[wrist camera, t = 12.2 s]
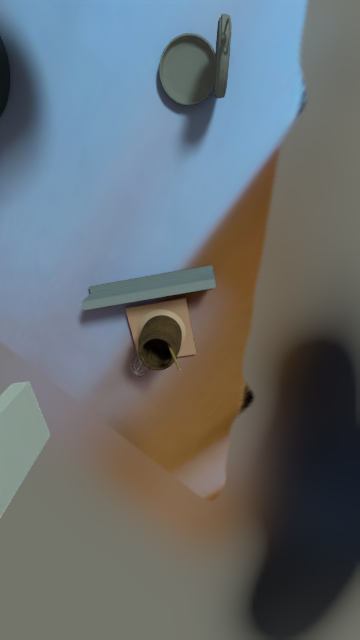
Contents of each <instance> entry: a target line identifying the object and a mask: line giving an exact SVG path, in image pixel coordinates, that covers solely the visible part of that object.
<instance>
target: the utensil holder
mask: <svg viewBox="0 0 360 640" xmlns="http://www.w3.org/2000/svg"><path fill="white" fill-rule="evenodd" d="M181 341H182V331H181V328H180V326H179V324H178V323H177V321H176V320H174V319H173V318H171V317H169V316H165V315H158V316H154V317H152V318H151V319H149V320H148V321H147V322H146V323H145V325H144V327H143V329H142V331H141V334H140V336H139V340H138V355H137V356H139V359H140V361H141V363H143V364H144V365H145V366H146V368H147V367H148V368H150V369H153V370H163V369H166V368H168V367H170V366H171V365H172V364H173V363H174V361H175V363H176V365H177V367H178V369H179V371H181V370H180V367H179V365H178V362H177V359H176V357H177V355H178V353H179V351H180V348H181ZM137 356H136V357H137ZM137 358H138V357H137ZM137 358H136V359H137ZM134 359H135V358H134ZM134 359H133V360H134ZM135 361H136V360H135ZM132 362H133V361H132ZM140 365H141V364H140ZM130 366H131V365H130ZM141 366H142V365H141ZM139 367H140V366H139ZM132 368H133V367H132ZM132 368H131V370H132ZM134 368H135V364H134ZM140 368H141V367H140ZM138 369H139V368H138ZM146 370H147V369H146ZM137 371H139V370H137ZM142 371H143V370H142ZM148 371H149V370H148ZM140 372H141V371H140ZM145 372H146V371H145ZM131 373H132V372H131ZM135 373H136V374H138V372H136V371H135ZM136 374H135V376H136ZM145 374H146V373H145ZM140 375H142V376H143V375H144V374H140ZM142 376H141V377H142Z"/></svg>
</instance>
